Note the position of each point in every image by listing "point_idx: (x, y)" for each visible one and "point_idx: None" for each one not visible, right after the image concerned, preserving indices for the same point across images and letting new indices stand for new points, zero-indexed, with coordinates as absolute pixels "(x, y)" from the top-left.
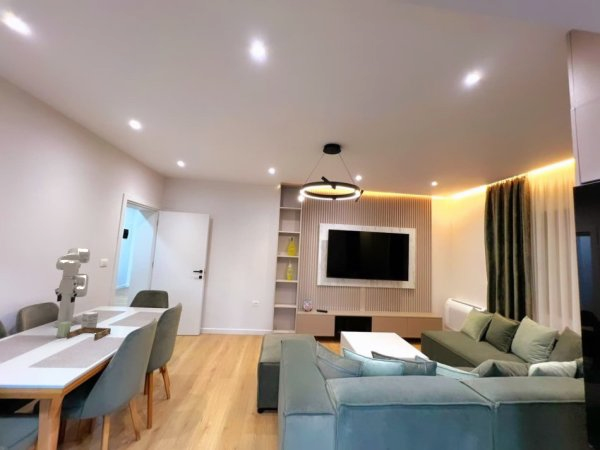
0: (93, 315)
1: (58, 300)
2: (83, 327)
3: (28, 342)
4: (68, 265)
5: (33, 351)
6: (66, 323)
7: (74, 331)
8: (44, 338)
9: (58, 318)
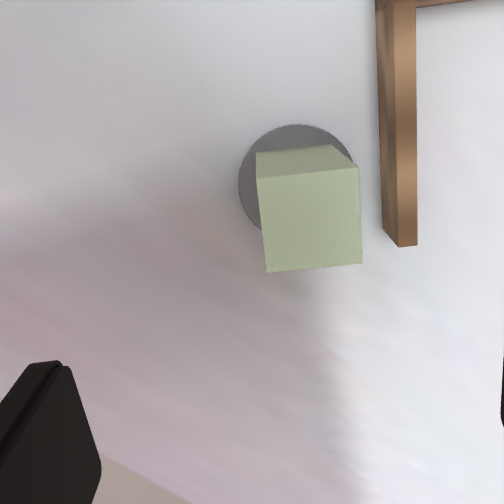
0: None
1: (88, 482)
2: (409, 9)
3: (181, 377)
4: None
5: (390, 490)
6: (360, 245)
7: (415, 169)
8: (196, 274)
9: None
